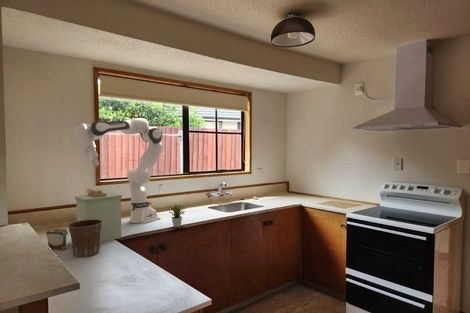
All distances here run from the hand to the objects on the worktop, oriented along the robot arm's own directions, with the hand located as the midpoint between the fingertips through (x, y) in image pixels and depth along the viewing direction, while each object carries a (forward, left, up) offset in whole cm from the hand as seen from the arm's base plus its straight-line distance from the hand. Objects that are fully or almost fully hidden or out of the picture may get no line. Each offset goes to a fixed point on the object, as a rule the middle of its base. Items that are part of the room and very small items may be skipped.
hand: (97, 166), depth 206 cm
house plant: (-40, +33, -43) cm, 68 cm away
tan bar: (+8, +15, -17) cm, 24 cm away
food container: (+30, +24, -43) cm, 58 cm away
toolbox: (+8, +22, -43) cm, 49 cm away
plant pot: (+23, +44, -43) cm, 66 cm away
